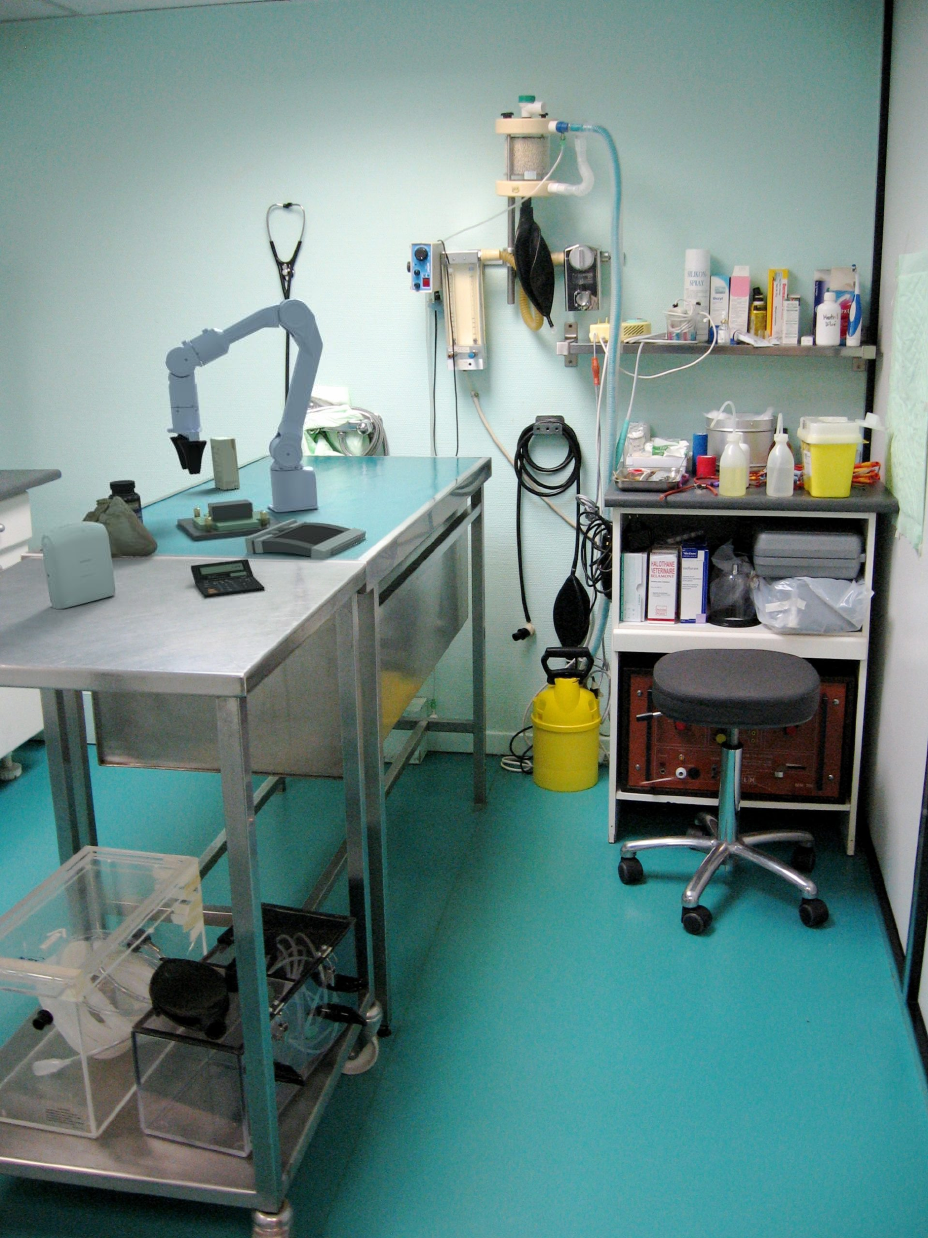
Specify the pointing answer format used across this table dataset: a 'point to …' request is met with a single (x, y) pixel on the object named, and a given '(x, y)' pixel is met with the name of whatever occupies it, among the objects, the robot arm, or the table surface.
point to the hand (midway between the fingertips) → (191, 471)
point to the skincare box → (225, 463)
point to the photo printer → (78, 564)
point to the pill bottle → (127, 495)
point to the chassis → (214, 533)
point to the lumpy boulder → (122, 528)
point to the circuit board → (230, 522)
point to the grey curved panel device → (304, 539)
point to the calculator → (225, 578)
